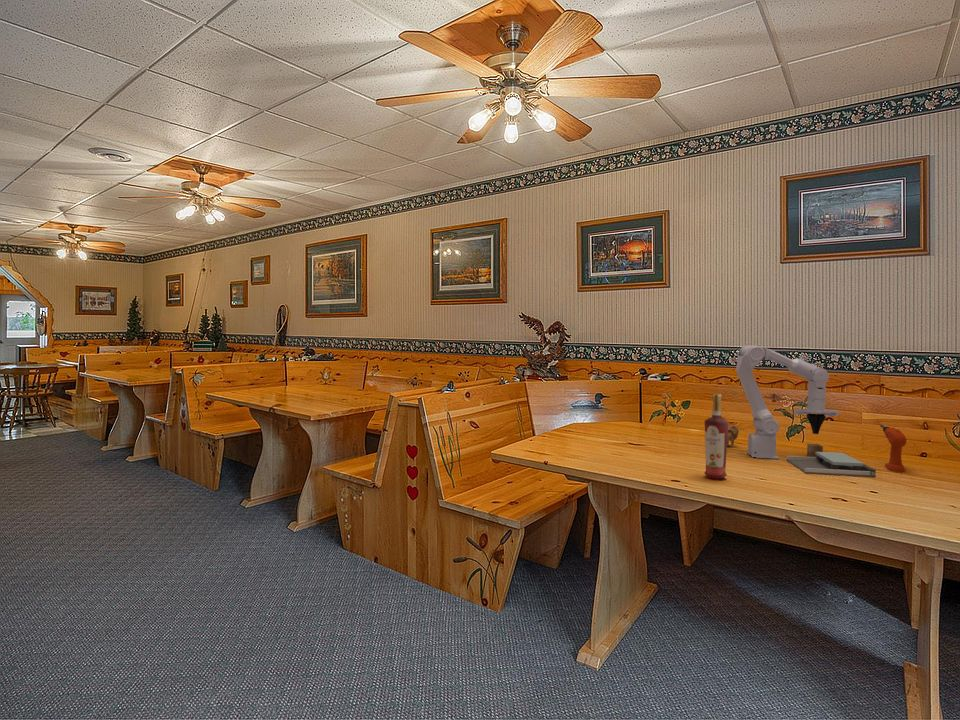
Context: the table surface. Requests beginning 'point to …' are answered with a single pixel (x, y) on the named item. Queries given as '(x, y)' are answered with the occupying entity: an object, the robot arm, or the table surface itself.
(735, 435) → the lion figurine
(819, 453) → the grey flat slab
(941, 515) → the table surface
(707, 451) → the liquor
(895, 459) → the toy drill
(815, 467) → the track
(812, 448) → the block
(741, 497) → the table surface
